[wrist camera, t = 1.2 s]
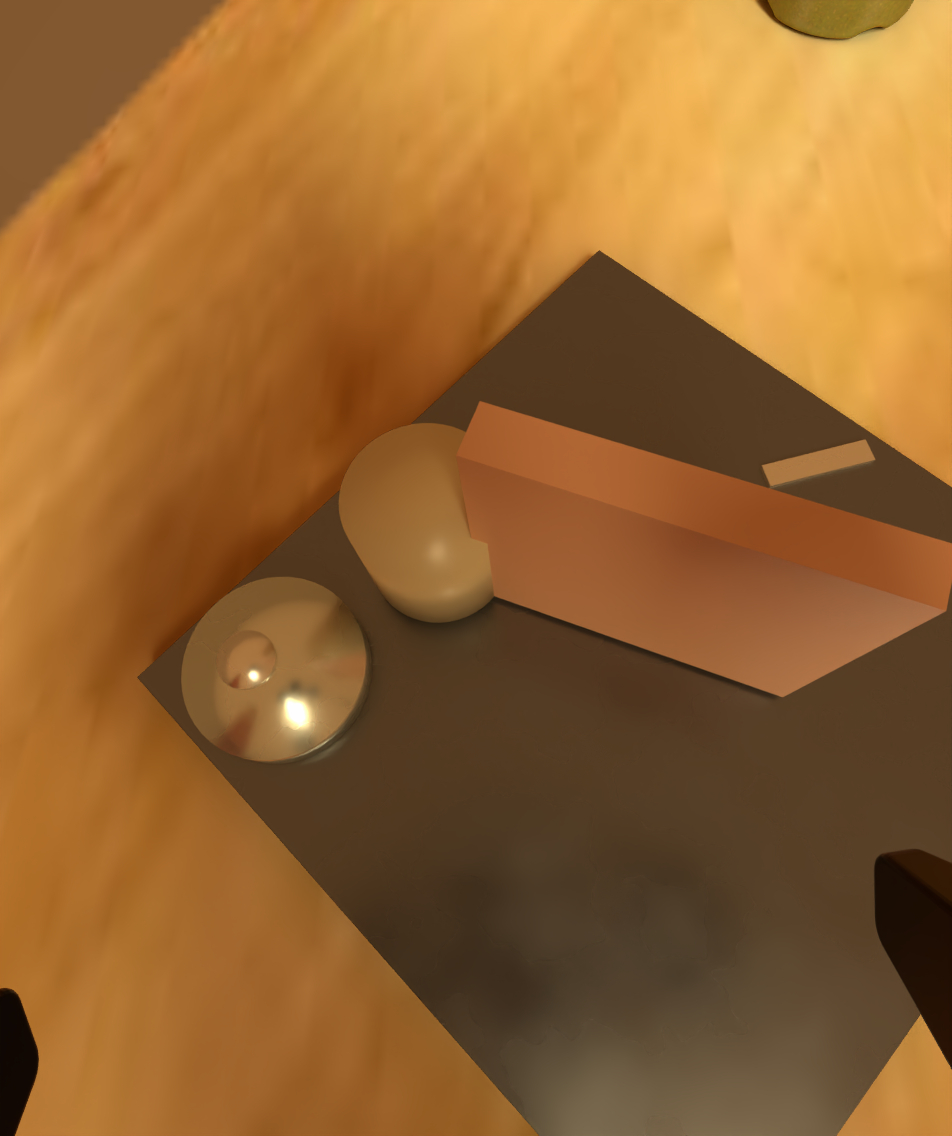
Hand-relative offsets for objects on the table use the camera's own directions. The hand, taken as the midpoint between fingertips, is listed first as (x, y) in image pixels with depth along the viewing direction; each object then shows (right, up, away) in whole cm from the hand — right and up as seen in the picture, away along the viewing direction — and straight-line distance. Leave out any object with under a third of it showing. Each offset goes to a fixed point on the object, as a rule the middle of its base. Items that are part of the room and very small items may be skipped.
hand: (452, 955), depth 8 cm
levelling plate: (+5, +1, +14) cm, 14 cm away
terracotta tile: (+3, +3, +13) cm, 14 cm away
